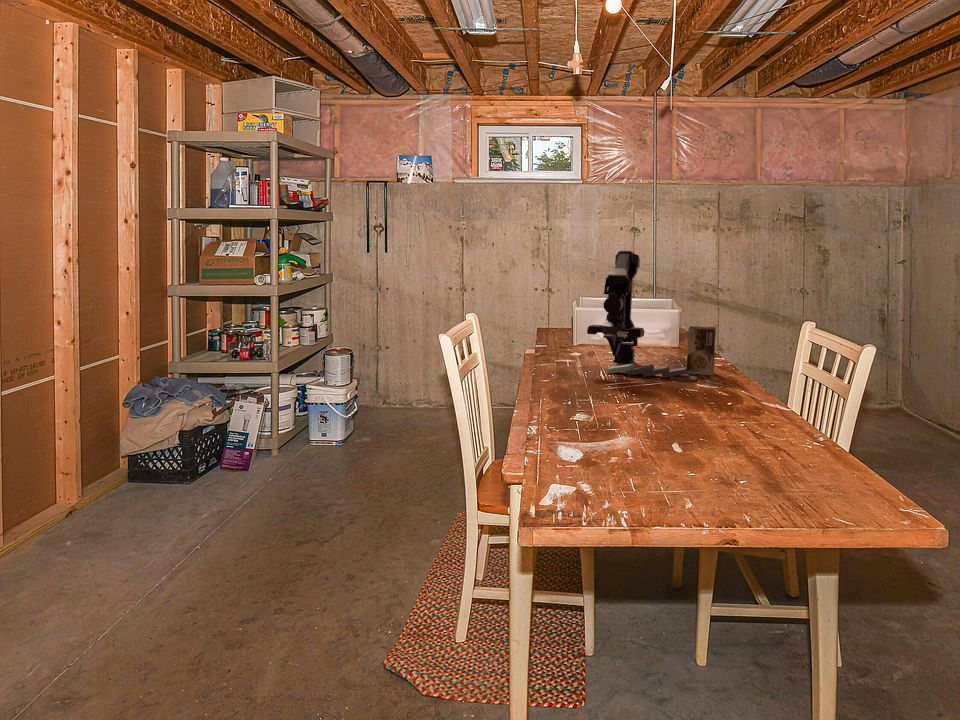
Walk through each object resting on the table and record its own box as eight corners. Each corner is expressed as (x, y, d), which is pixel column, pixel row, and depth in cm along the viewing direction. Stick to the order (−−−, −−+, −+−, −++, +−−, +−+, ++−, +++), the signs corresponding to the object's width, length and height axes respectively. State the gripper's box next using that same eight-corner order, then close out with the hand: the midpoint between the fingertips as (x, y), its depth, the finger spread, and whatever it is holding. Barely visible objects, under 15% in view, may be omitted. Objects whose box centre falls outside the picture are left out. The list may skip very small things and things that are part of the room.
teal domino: (607, 369, 267) (629, 365, 263) (611, 366, 271) (633, 363, 268) (608, 373, 267) (630, 370, 263) (612, 371, 272) (634, 368, 268)
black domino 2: (626, 371, 264) (649, 366, 260) (630, 368, 268) (652, 363, 265) (628, 375, 264) (650, 370, 260) (631, 373, 268) (654, 368, 265)
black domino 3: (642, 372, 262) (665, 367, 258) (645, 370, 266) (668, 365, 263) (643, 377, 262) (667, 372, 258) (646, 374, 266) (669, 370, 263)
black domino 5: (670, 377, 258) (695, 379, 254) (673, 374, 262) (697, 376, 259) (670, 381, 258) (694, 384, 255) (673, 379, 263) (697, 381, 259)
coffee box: (713, 372, 271) (716, 326, 268) (713, 376, 265) (716, 329, 262) (687, 370, 274) (689, 325, 271) (685, 374, 268) (688, 327, 265)
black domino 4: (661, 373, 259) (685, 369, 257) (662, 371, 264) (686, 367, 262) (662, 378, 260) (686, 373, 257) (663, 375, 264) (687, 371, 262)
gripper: (582, 311, 262) (581, 357, 265) (636, 314, 254) (634, 361, 257) (593, 308, 272) (591, 352, 275) (645, 311, 264) (643, 356, 266)
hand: (614, 355), depth 268 cm, fingers closed
